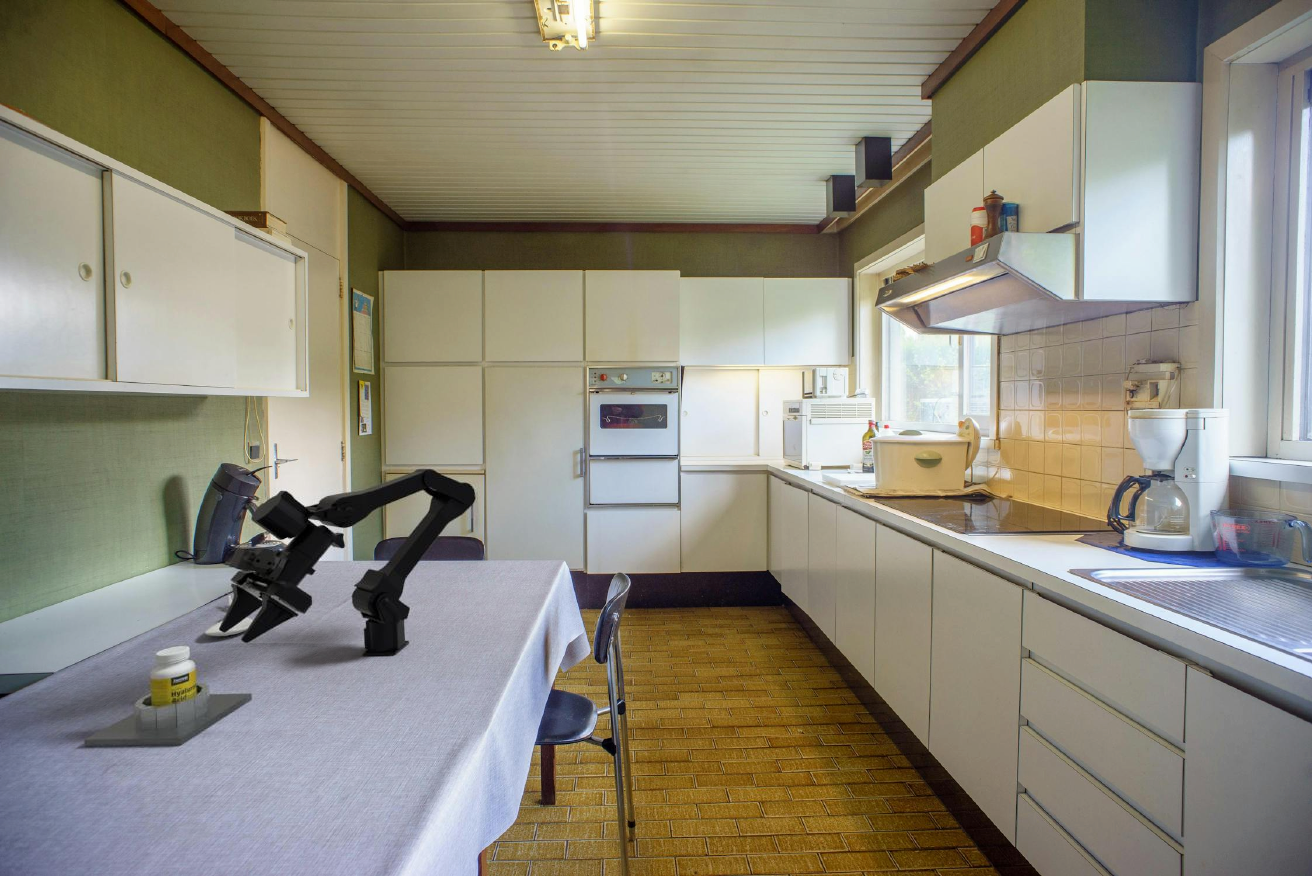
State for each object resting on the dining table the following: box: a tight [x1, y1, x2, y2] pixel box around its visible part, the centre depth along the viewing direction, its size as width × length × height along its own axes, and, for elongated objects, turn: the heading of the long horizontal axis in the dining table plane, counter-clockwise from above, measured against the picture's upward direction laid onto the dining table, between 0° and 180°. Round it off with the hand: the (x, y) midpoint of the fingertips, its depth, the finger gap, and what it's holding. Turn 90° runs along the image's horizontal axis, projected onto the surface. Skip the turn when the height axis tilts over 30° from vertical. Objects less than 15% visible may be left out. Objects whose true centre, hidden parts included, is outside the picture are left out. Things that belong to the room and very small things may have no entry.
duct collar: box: [83, 682, 253, 748], centre depth 91 cm, size 14×14×4 cm
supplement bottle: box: [149, 645, 197, 706], centre depth 92 cm, size 5×5×10 cm
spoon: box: [203, 595, 262, 637], centre depth 141 cm, size 9×32×4 cm, turn 27°
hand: (232, 636), depth 98 cm, fingers open, 9 cm apart
